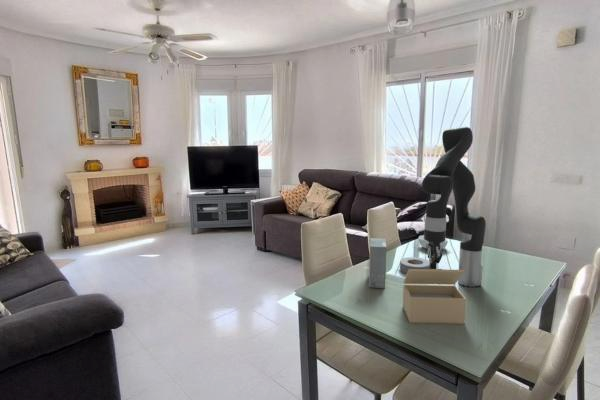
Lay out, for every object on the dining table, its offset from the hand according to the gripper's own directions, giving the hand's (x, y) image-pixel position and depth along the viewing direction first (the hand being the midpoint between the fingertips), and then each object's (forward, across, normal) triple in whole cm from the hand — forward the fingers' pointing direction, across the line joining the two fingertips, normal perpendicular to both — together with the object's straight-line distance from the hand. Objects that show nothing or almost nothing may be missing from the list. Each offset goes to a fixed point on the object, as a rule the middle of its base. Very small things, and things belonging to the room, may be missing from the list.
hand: (432, 271), depth 131 cm
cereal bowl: (+19, +85, -25) cm, 90 cm away
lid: (+3, +1, 0) cm, 3 cm away
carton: (+18, -1, 0) cm, 18 cm away
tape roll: (+19, +47, -5) cm, 50 cm away
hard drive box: (+18, +30, +17) cm, 39 cm away
